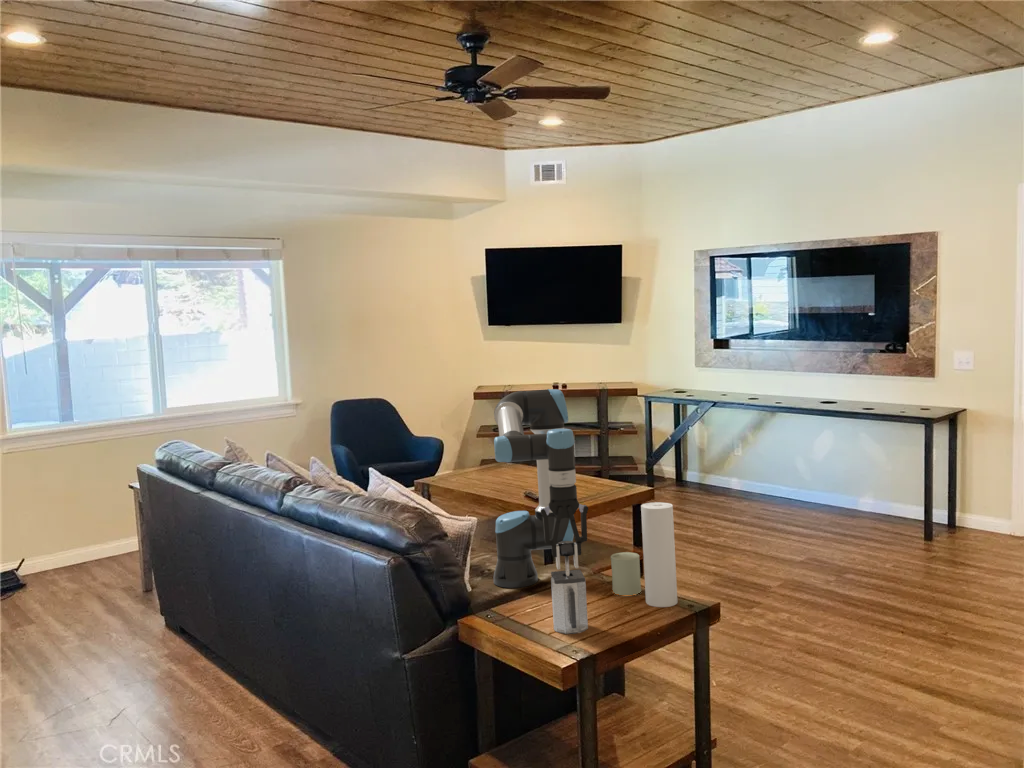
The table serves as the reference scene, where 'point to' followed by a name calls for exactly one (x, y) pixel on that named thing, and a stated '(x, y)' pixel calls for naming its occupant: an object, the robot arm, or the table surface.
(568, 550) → the plunger
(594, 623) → the table surface
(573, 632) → the press carafe
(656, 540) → the cylinder container
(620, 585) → the can
